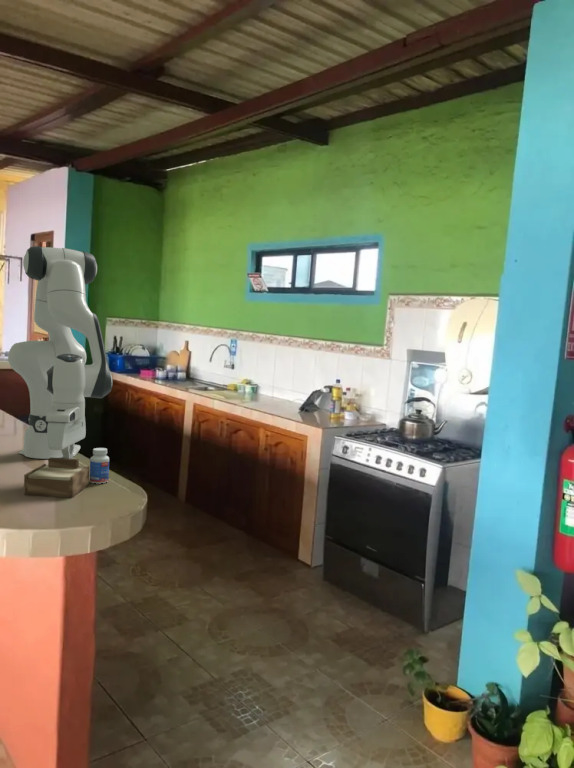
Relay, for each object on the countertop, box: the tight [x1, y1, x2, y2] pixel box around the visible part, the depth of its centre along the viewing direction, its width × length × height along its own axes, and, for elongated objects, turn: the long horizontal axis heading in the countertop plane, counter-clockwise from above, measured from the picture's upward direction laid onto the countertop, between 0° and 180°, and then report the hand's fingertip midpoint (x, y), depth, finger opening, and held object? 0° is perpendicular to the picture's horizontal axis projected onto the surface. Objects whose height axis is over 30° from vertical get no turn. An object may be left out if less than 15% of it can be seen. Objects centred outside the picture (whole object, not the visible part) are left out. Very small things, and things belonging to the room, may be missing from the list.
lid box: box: [23, 463, 90, 499], centre depth 175 cm, size 13×13×6 cm
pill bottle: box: [89, 447, 110, 485], centre depth 185 cm, size 6×5×10 cm
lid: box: [28, 457, 87, 481], centre depth 175 cm, size 13×11×3 cm
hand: (67, 459), depth 181 cm, fingers closed
